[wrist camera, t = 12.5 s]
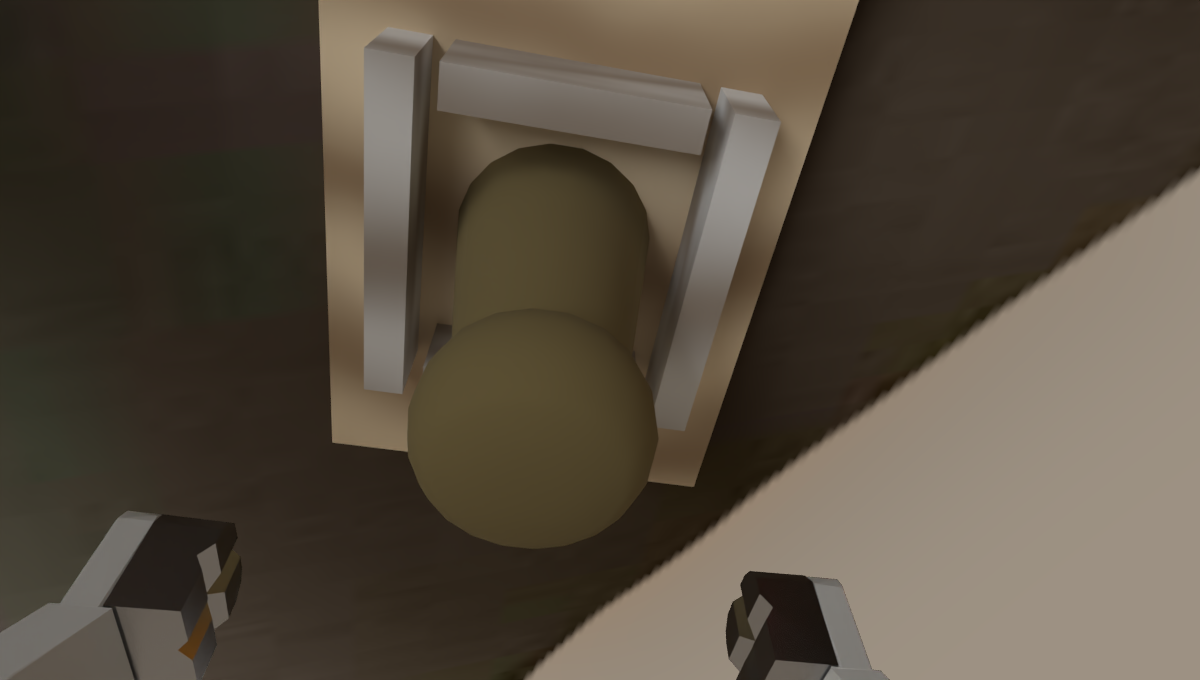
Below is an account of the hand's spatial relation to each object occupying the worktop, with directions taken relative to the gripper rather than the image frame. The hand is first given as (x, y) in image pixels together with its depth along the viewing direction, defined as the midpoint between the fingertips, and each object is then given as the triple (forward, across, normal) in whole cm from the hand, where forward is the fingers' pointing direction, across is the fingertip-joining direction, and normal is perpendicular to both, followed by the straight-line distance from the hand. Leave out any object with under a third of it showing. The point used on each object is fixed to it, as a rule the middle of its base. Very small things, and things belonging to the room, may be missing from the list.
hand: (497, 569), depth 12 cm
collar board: (+15, -1, 0) cm, 15 cm away
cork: (+13, -1, +1) cm, 13 cm away
